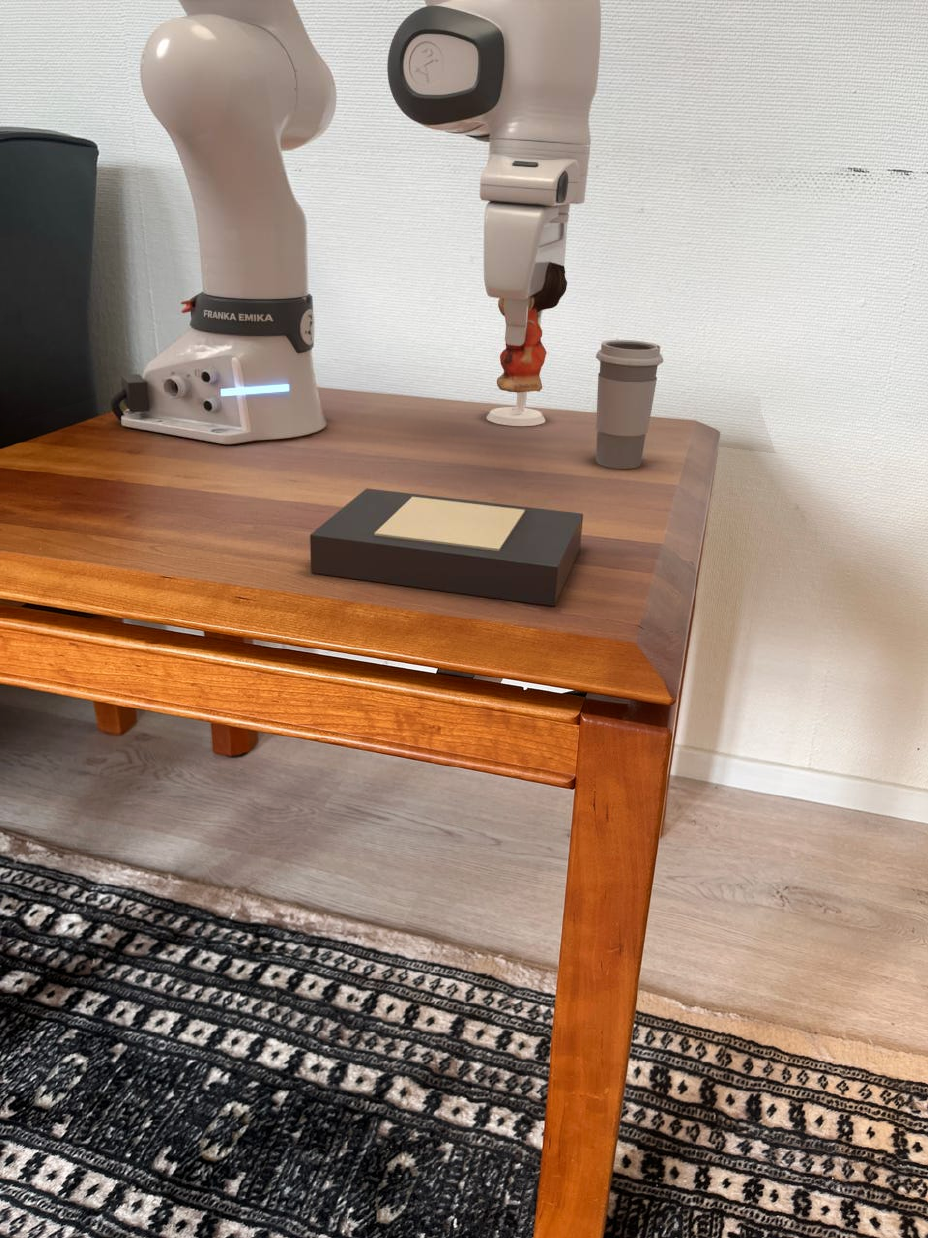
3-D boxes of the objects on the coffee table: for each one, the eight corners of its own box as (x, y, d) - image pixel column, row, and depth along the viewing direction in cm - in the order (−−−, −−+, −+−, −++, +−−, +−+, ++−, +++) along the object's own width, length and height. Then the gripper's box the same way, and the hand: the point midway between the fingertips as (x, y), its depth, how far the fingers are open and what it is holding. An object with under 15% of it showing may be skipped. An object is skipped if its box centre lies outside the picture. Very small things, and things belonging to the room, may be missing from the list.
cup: (649, 475, 99) (664, 352, 94) (582, 469, 100) (594, 347, 95) (651, 457, 105) (665, 341, 100) (589, 451, 106) (599, 336, 101)
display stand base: (310, 573, 72) (309, 531, 70) (366, 522, 82) (366, 485, 81) (554, 606, 68) (558, 563, 67) (580, 549, 79) (583, 510, 77)
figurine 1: (522, 379, 99) (535, 252, 94) (561, 390, 95) (576, 258, 90) (474, 383, 95) (484, 250, 90) (512, 394, 91) (525, 256, 86)
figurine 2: (491, 410, 122) (496, 309, 117) (548, 414, 121) (556, 313, 116) (481, 423, 116) (486, 317, 111) (541, 428, 115) (548, 321, 110)
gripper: (524, 176, 97) (512, 321, 103) (475, 176, 79) (463, 352, 85) (588, 181, 96) (572, 327, 102) (552, 182, 78) (535, 360, 84)
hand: (522, 339), depth 93 cm, fingers closed on figurine 1, 5 cm apart
